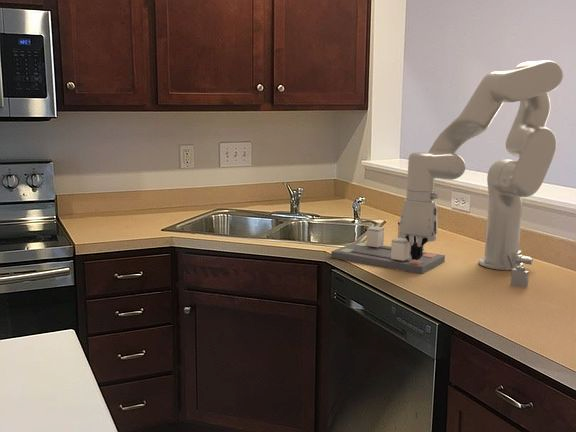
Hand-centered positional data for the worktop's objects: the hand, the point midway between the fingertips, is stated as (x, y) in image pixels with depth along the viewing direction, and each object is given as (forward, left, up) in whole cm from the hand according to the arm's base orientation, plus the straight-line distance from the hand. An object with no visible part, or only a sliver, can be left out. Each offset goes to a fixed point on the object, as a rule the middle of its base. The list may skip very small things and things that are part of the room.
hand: (416, 258), depth 190 cm
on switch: (+18, -10, -1) cm, 21 cm away
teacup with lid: (+12, -24, -4) cm, 27 cm away
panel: (+11, -5, -3) cm, 13 cm away
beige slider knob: (+5, 0, -1) cm, 5 cm away
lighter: (-28, -2, -4) cm, 28 cm away
